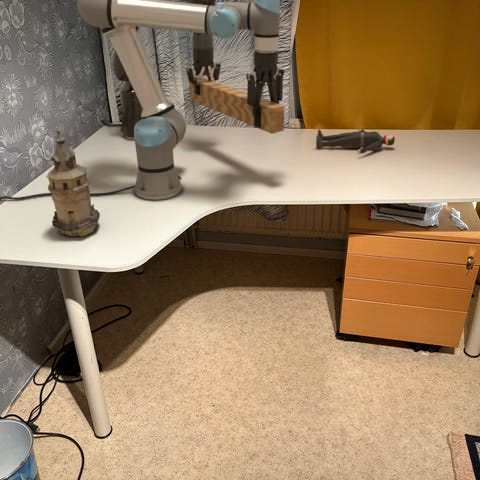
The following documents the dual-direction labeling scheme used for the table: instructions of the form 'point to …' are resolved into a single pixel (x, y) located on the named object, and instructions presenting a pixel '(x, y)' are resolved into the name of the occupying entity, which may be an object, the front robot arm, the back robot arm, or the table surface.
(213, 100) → the post
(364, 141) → the toy
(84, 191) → the miniature building
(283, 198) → the table surface
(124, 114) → the back robot arm
